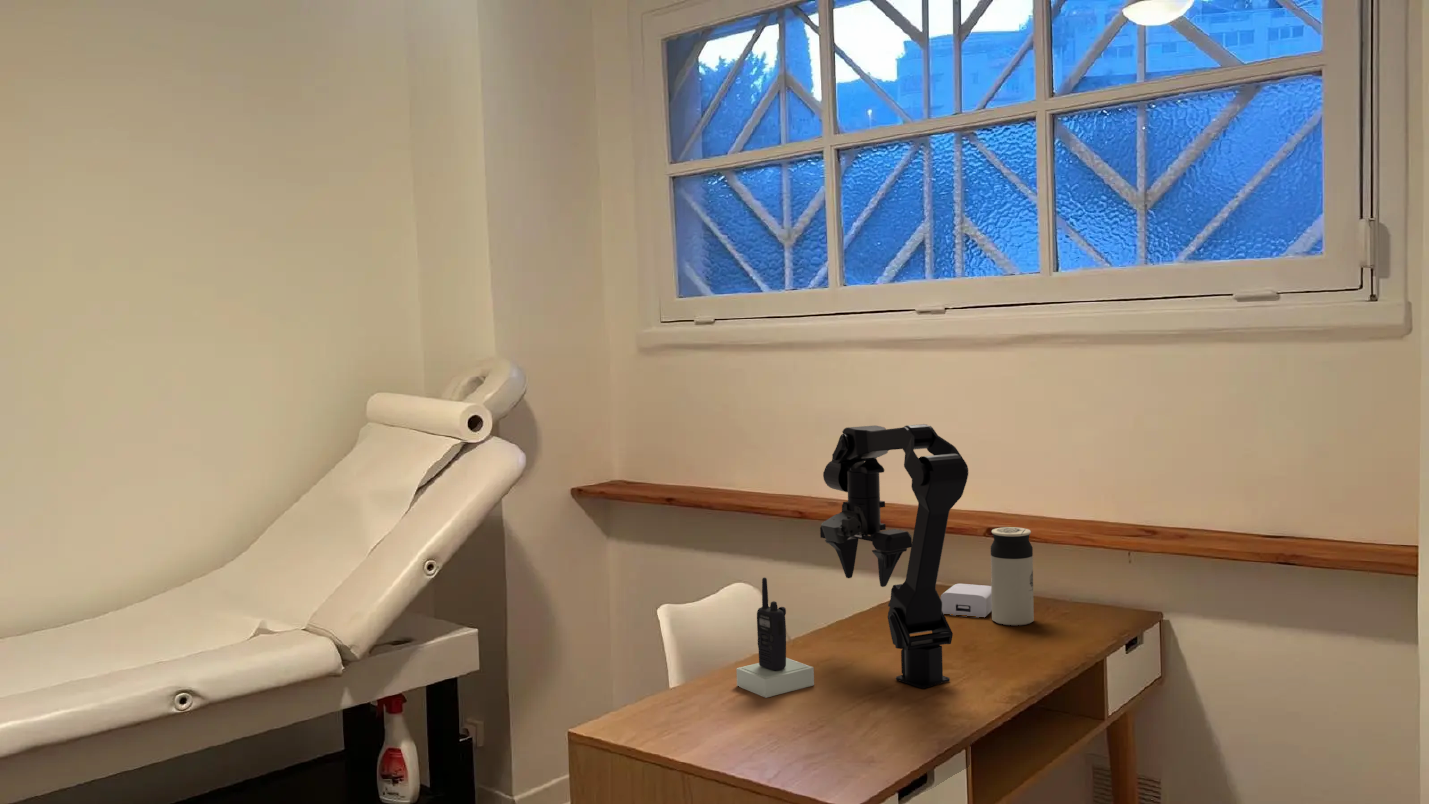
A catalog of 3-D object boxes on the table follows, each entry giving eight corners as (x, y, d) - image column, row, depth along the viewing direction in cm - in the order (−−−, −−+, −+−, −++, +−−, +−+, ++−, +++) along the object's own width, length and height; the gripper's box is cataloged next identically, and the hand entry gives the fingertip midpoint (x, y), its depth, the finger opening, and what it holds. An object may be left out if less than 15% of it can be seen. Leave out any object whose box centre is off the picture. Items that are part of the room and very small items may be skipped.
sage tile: (814, 685, 192) (813, 666, 192) (765, 697, 187) (765, 678, 186) (784, 674, 199) (784, 656, 199) (737, 685, 193) (736, 667, 193)
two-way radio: (754, 666, 193) (751, 577, 192) (774, 660, 196) (772, 573, 195) (775, 673, 189) (773, 582, 188) (796, 667, 192) (793, 578, 191)
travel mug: (986, 623, 227) (984, 532, 225) (999, 614, 233) (997, 525, 232) (1026, 628, 222) (1025, 535, 221) (1038, 618, 229) (1037, 528, 228)
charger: (1004, 602, 244) (986, 619, 231) (961, 598, 248) (940, 615, 235) (1004, 580, 244) (985, 595, 231) (960, 576, 248) (940, 592, 235)
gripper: (795, 495, 211) (798, 580, 212) (864, 507, 195) (866, 598, 196) (842, 489, 217) (845, 571, 218) (913, 499, 201) (915, 588, 202)
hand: (865, 582), depth 208 cm, fingers open, 9 cm apart
